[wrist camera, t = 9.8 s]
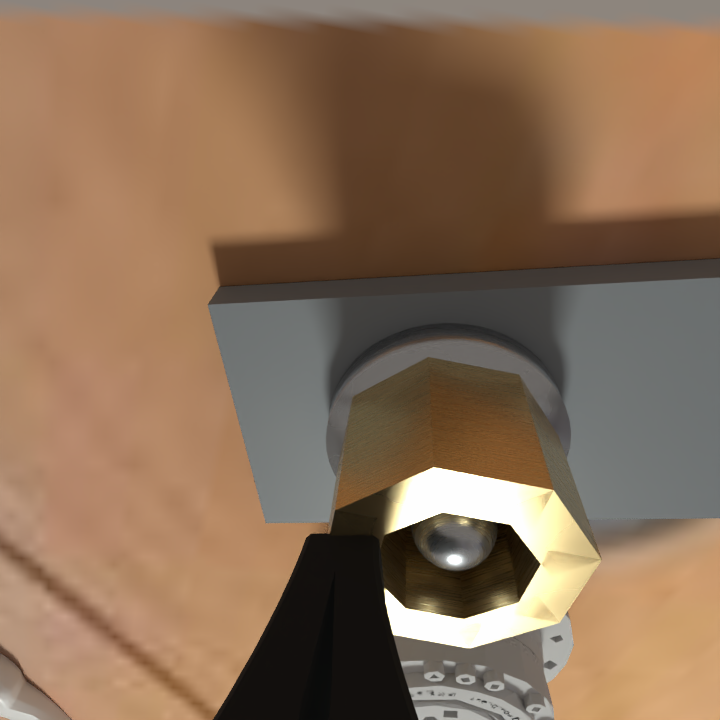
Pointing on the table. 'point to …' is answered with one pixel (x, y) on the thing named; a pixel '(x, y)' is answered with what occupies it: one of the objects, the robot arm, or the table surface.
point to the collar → (464, 501)
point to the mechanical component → (486, 675)
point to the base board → (524, 324)
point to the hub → (462, 345)
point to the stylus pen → (23, 697)
